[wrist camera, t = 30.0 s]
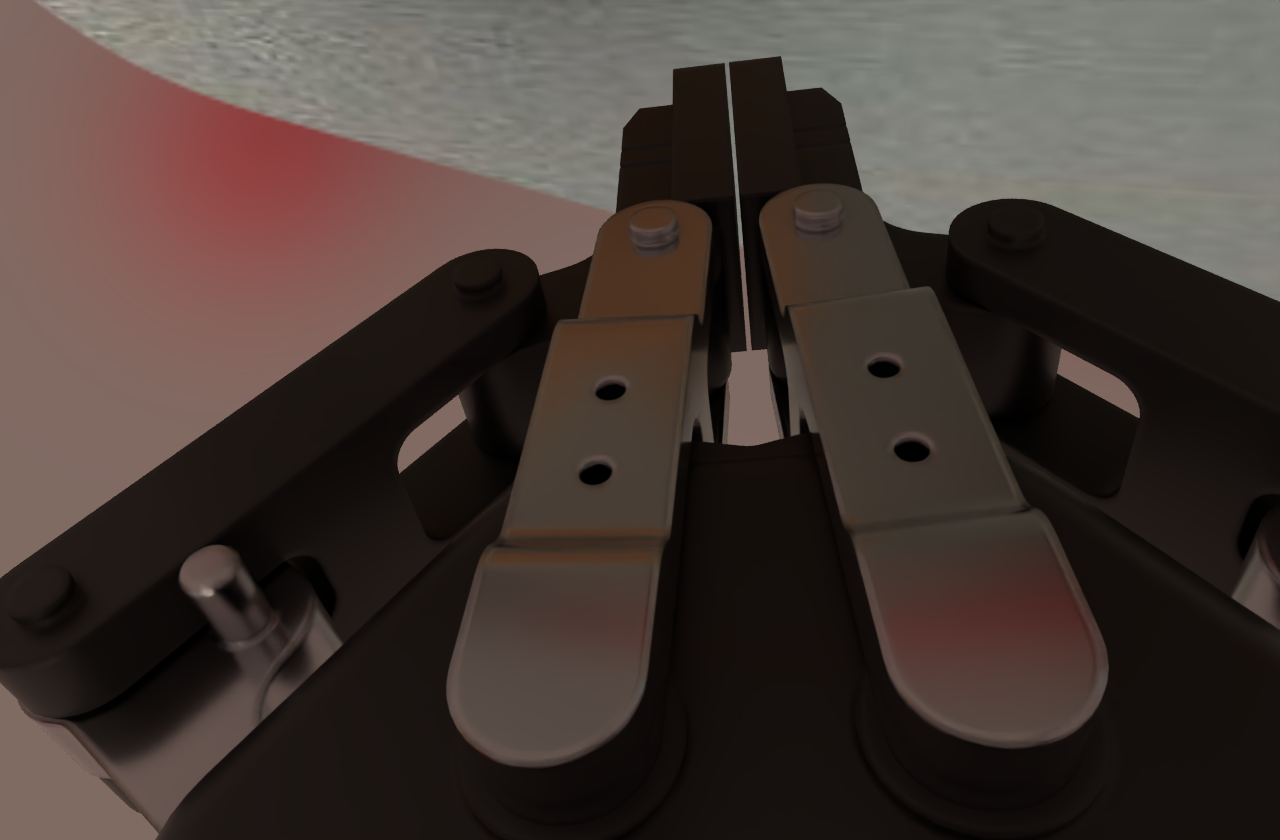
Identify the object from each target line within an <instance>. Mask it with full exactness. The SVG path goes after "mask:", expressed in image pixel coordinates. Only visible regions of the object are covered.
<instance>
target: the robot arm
mask: <svg viewBox="0 0 1280 840" xmlns="http://www.w3.org/2000/svg"><path fill="white" fill-rule="evenodd" d="M729 67H730V80H731V93H732V106H733V119H734V132H735V145H736V158H737V171H738V184H739V197H740V209H741V222H742V234H743V247H744V258H745V271H746V284H747V296H748V309H749V321H750V334H751V346H752V350H761V349H767V352H768V362H769V376H770V390H771V399H772V403H773V408H774V413H775V418H776V423H777V427H778V432H779V437H780V439H779V440H775V441H772V442H768V443H764V444H760V445H755V446H738V445H728V444H727V436H728V420H729V403H730V396H729V385H728V378H729V375H730V372H731V367H732V362H731V352H741V351H747V348H746V335H745V320H744V307H743V292H742V279H741V265H740V250H739V237H738V223H737V209H736V196H735V183H734V170H733V158H732V146H731V134H730V122H729V110H728V99H727V87H726V75H725V64H724V63H721V64H712V65H704V66H696V67H687V68H679V69H673V105H667V106H658V107H649V108H641V109H639V110H638V111H637V112H636V114H635V115H634V116H633V117H632V118H631V120H630V121H629V122H628V123H627V124H626V126H625V127H624V128H623V138H622V152H621V161H620V167H621V169H620V172H619V184H618V195H617V207H616V213H615V214H614V215H613V216H611V217H610V218H609V219H608V220H607V221H606V222H605V223H604V224H603V225H602V227H601V228H600V230H599V233H598V236H597V241H596V244H595V249H594V253H593V255H592V256H590V257H589V258H587V259H586V260H583V261H581V262H579V263H577V264H574V265H572V266H569V267H566V268H563V269H560V270H556V271H553V272H550V273H547V274H543V275H540V276H539V273H538V269H537V266H536V264H535V263H534V261H533V260H532V259H530V258H529V257H528V256H526V255H524V254H522V253H520V252H517V251H513V250H507V249H486V250H480V251H475V252H472V253H468V254H465V255H462V256H459V257H457V258H455V259H453V260H451V261H449V262H448V263H446V264H444V265H443V266H441V267H440V268H438V269H437V270H435V271H434V272H432V273H431V274H430V275H428V276H427V277H425V278H424V279H422V280H421V281H420V282H418V283H417V284H415V285H414V286H413V287H411V288H410V289H408V290H407V291H405V292H404V293H403V294H401V295H400V296H398V297H397V298H395V299H394V300H393V301H391V302H390V303H389V304H387V305H386V306H384V307H383V308H381V309H380V310H379V311H377V312H376V313H374V314H373V315H371V316H370V317H369V318H367V319H366V320H364V321H363V322H361V323H360V324H359V325H357V326H356V327H354V328H353V329H352V330H350V331H349V332H347V333H346V334H345V335H343V336H342V337H340V338H339V339H338V340H336V341H335V342H333V343H332V344H330V345H329V346H327V347H326V348H325V349H323V350H322V351H320V352H319V353H318V354H316V355H315V356H313V357H312V358H310V359H309V360H308V361H306V362H305V363H303V364H302V365H301V366H299V367H298V368H296V369H295V370H294V371H292V372H291V373H289V374H288V375H286V376H285V377H284V378H282V379H281V380H279V381H278V382H276V383H275V384H274V385H272V386H271V387H269V388H268V389H267V390H265V391H264V392H262V393H261V394H259V395H258V396H257V397H255V398H254V399H252V400H251V401H250V402H248V403H247V404H245V405H244V406H242V407H241V408H240V409H238V410H237V411H235V412H234V413H233V414H231V415H230V416H228V417H227V418H225V419H224V420H223V421H221V422H220V423H218V424H217V425H216V426H214V427H213V428H211V429H210V430H208V431H207V432H206V433H204V434H203V435H201V436H200V437H198V438H197V439H196V440H194V441H193V442H191V443H190V444H189V445H187V446H186V447H184V448H183V449H182V450H180V451H179V452H177V453H176V454H175V455H173V456H172V457H170V458H169V459H167V460H166V461H164V462H163V463H162V464H160V465H159V466H158V467H156V468H155V469H153V470H152V471H150V472H149V473H147V474H146V475H145V476H143V477H142V478H141V479H139V480H138V481H136V482H135V483H133V484H132V485H130V486H129V487H128V488H126V489H125V490H123V491H122V492H121V493H119V494H118V495H116V496H115V497H113V498H112V499H111V500H110V501H108V502H107V503H105V504H104V505H102V506H101V507H99V508H98V509H96V510H95V511H94V512H92V513H91V514H89V515H88V516H87V517H85V518H84V519H82V520H81V521H79V522H78V523H77V524H75V525H74V526H72V527H71V528H70V529H68V530H67V531H65V532H64V533H63V534H61V535H60V536H58V537H57V538H55V539H54V540H53V541H51V542H50V543H48V544H47V545H45V546H44V547H43V548H41V549H40V550H39V551H37V552H36V553H34V554H33V555H31V556H30V557H29V558H27V559H26V560H24V561H23V562H21V563H20V564H19V565H17V566H16V567H14V568H13V569H12V570H11V571H9V572H8V573H6V574H5V575H4V576H3V577H2V578H0V683H1V684H2V685H3V686H4V687H5V688H6V689H7V690H9V692H11V693H12V694H13V695H14V696H15V697H16V698H17V699H18V702H19V705H20V707H21V709H22V710H23V711H24V712H25V714H26V715H27V716H28V717H29V718H31V719H32V720H33V721H34V722H35V723H36V724H37V725H38V726H39V727H40V728H41V729H42V730H43V731H44V732H45V733H46V734H47V735H48V736H49V737H50V738H52V740H54V741H55V742H56V743H57V744H58V745H59V746H60V747H61V748H62V749H63V750H64V751H65V752H66V753H67V754H68V755H69V756H70V757H71V758H72V759H73V760H74V761H76V762H77V763H78V764H79V765H80V766H81V767H82V768H83V769H84V770H85V771H87V772H88V773H90V774H92V775H94V776H97V777H99V778H100V779H101V780H102V781H103V782H104V783H105V784H106V785H107V786H108V787H109V788H110V789H111V790H112V791H113V792H114V793H115V794H116V795H118V796H119V797H120V798H121V799H122V800H123V801H124V802H125V803H126V804H127V805H128V806H129V807H130V808H132V809H133V810H135V811H136V812H139V813H141V814H142V815H143V816H144V817H145V818H146V819H147V820H148V822H149V823H150V824H151V825H152V826H153V827H154V828H155V830H156V831H157V832H158V833H159V835H158V837H157V838H156V840H1280V302H1279V301H1277V300H1274V299H1272V298H1270V297H1267V296H1265V295H1262V294H1260V293H1258V292H1255V291H1253V290H1251V289H1248V288H1246V287H1244V286H1241V285H1239V284H1237V283H1234V282H1232V281H1229V280H1227V279H1225V278H1222V277H1220V276H1218V275H1215V274H1213V273H1211V272H1208V271H1206V270H1204V269H1201V268H1199V267H1196V266H1194V265H1192V264H1189V263H1187V262H1185V261H1182V260H1180V259H1178V258H1175V257H1173V256H1171V255H1168V254H1166V253H1163V252H1161V251H1159V250H1156V249H1154V248H1152V247H1149V246H1147V245H1145V244H1142V243H1140V242H1138V241H1135V240H1133V239H1130V238H1128V237H1126V236H1123V235H1121V234H1119V233H1116V232H1114V231H1112V230H1109V229H1107V228H1105V227H1102V226H1100V225H1097V224H1095V223H1093V222H1090V221H1088V220H1086V219H1083V218H1081V217H1079V216H1076V215H1074V214H1072V213H1069V212H1067V211H1065V210H1062V209H1060V208H1057V207H1055V206H1052V205H1049V204H1047V203H1043V202H1039V201H1034V200H1027V199H999V200H991V201H987V202H983V203H980V204H977V205H974V206H972V207H970V208H968V209H966V210H964V211H963V212H961V213H960V214H958V215H957V216H956V218H955V219H954V220H953V221H952V223H951V225H950V229H949V235H944V234H933V233H923V232H916V231H911V230H906V229H902V228H899V227H896V226H893V225H891V224H889V223H887V222H885V221H883V219H882V217H881V215H880V212H879V210H878V207H877V205H876V203H875V202H874V200H873V199H872V198H871V197H870V196H868V195H867V194H865V193H864V192H863V191H862V187H861V183H860V179H859V175H858V170H857V166H856V162H855V158H854V154H853V150H852V146H851V143H850V138H849V134H848V129H847V127H846V121H845V117H844V113H843V109H842V105H841V103H840V102H839V101H838V100H836V99H835V98H834V97H833V96H831V95H830V94H829V93H828V92H826V91H825V90H824V89H823V88H813V89H804V90H796V91H787V90H786V84H785V78H784V72H783V66H782V59H781V56H778V57H770V58H761V59H753V60H745V61H736V62H729ZM1061 349H1064V350H1066V351H1068V352H1070V353H1072V354H1074V355H1076V356H1077V357H1080V358H1081V359H1083V360H1085V361H1087V362H1089V363H1091V364H1093V365H1095V366H1096V367H1099V368H1100V369H1102V370H1104V371H1106V372H1108V373H1110V374H1112V375H1114V376H1115V377H1117V378H1118V379H1120V380H1121V381H1122V382H1124V383H1125V384H1126V385H1127V386H1128V387H1129V389H1130V390H1131V391H1132V393H1133V394H1134V396H1135V398H1136V400H1137V402H1138V404H1139V409H1140V418H1137V417H1135V416H1134V415H1132V414H1130V413H1128V412H1126V411H1124V410H1123V409H1121V408H1119V407H1117V406H1115V405H1114V404H1111V403H1110V402H1108V401H1106V400H1104V399H1102V398H1101V397H1099V396H1097V395H1095V394H1093V393H1091V392H1090V391H1088V390H1086V389H1084V388H1082V387H1081V386H1079V385H1077V384H1075V383H1073V382H1071V381H1070V380H1068V379H1066V378H1064V377H1062V376H1061V375H1059V374H1057V369H1058V364H1059V359H1060V354H1061ZM457 395H459V398H460V400H461V403H462V406H463V409H464V412H465V415H466V418H467V419H466V420H464V421H463V422H462V423H461V424H459V425H458V426H457V427H456V428H455V429H453V430H452V431H451V432H450V433H448V434H447V435H446V436H445V437H444V438H442V439H441V440H440V441H439V442H438V443H436V444H435V445H434V446H433V447H431V448H430V449H429V450H428V451H426V452H425V453H424V454H423V455H422V456H420V457H419V458H418V459H417V460H415V461H414V462H413V463H412V464H411V465H409V466H408V467H407V468H406V469H405V470H403V471H402V472H401V473H400V474H399V471H398V467H397V460H398V455H399V451H400V448H401V446H402V444H403V442H404V441H405V439H406V438H407V437H408V435H409V434H410V433H411V432H412V431H413V430H414V429H416V428H417V427H418V426H419V425H421V424H422V423H423V422H424V421H426V420H427V419H428V418H429V417H431V416H432V415H433V414H434V413H436V412H437V411H438V410H439V409H441V408H442V407H443V406H444V405H446V404H447V403H448V402H449V401H451V400H452V399H453V398H454V397H456V396H457Z"/></svg>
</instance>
